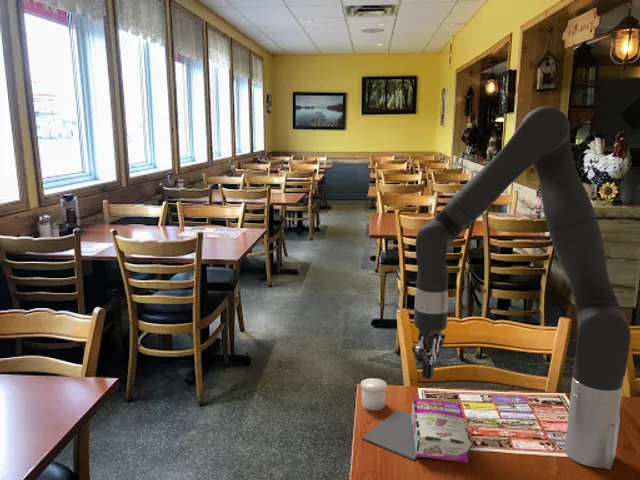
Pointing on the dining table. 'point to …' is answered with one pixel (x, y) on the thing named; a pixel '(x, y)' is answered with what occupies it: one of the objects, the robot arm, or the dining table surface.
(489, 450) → the dining table surface
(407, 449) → the mat
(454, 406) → the candy bar box
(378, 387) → the sugar bowl
